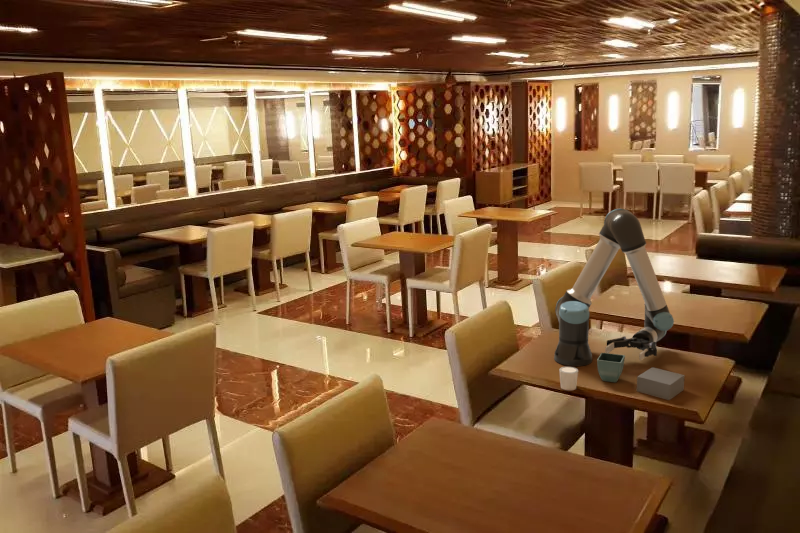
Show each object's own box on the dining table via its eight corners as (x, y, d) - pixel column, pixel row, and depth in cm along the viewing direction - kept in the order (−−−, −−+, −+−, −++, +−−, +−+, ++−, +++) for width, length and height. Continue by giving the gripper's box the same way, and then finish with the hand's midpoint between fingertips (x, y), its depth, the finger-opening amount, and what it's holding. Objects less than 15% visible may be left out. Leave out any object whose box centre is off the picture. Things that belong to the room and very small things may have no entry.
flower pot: (595, 382, 252) (596, 359, 250) (600, 374, 259) (601, 352, 258) (620, 385, 248) (621, 362, 246) (624, 377, 255) (625, 355, 253)
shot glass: (576, 383, 251) (576, 366, 249) (579, 391, 244) (579, 373, 243) (557, 383, 252) (558, 366, 250) (560, 391, 245) (560, 373, 243)
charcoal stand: (636, 392, 242) (637, 376, 241) (651, 382, 251) (652, 367, 249) (669, 401, 234) (670, 384, 233) (683, 390, 242) (684, 375, 241)
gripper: (675, 353, 267) (654, 369, 252) (615, 342, 283) (592, 356, 268) (675, 335, 265) (655, 350, 250) (615, 325, 282) (592, 338, 266)
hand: (622, 353), depth 259 cm, fingers open, 13 cm apart
